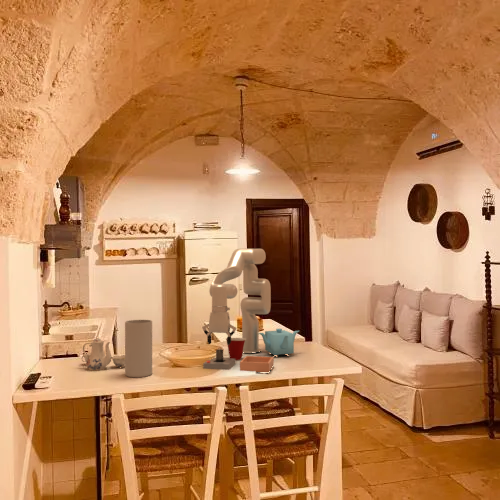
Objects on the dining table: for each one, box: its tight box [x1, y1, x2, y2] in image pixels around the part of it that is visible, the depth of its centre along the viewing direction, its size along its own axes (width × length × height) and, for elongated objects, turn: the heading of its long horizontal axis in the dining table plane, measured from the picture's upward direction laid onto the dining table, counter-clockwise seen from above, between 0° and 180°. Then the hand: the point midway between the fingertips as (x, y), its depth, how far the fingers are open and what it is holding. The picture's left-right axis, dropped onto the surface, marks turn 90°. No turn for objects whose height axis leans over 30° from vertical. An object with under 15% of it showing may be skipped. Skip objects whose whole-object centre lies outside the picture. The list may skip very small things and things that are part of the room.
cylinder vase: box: [124, 319, 153, 378], centre depth 228 cm, size 12×12×25 cm
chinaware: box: [81, 336, 125, 371], centre depth 244 cm, size 28×17×17 cm, turn 75°
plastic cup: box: [225, 337, 246, 361], centre depth 258 cm, size 11×11×12 cm
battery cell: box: [215, 348, 224, 362], centre depth 241 cm, size 4×4×9 cm
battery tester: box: [202, 357, 236, 371], centre depth 241 cm, size 13×13×4 cm
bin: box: [239, 355, 275, 372], centre depth 237 cm, size 14×14×5 cm
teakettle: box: [259, 328, 300, 356], centre depth 272 cm, size 19×19×15 cm
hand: (219, 344), depth 240 cm, fingers open, 9 cm apart
